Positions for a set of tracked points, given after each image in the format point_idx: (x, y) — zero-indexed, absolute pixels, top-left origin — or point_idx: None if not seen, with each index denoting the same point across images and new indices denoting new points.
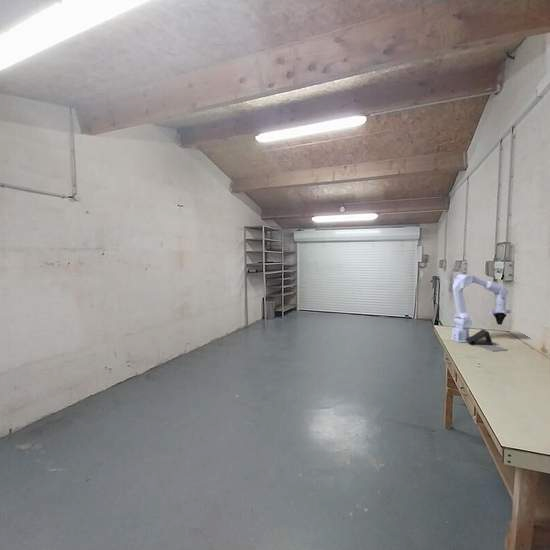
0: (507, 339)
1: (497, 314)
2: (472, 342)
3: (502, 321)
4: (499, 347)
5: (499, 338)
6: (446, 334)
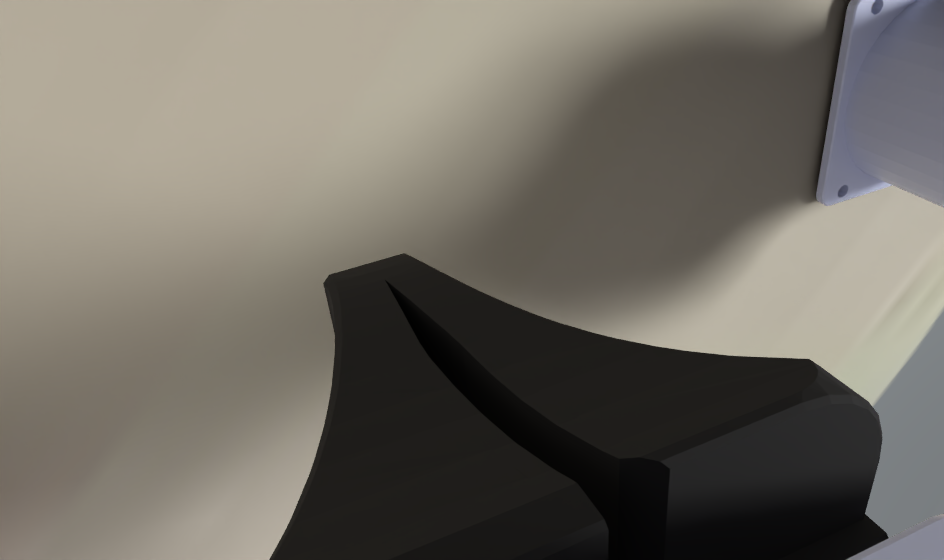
0: (8, 159)
1: (865, 539)
2: None
3: (359, 328)
4: None
5: (169, 240)
6: None
